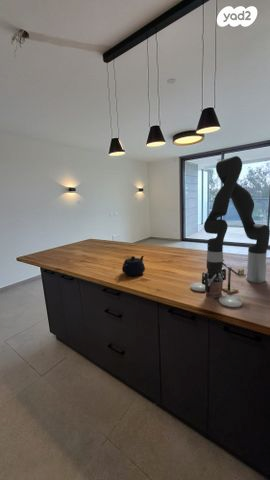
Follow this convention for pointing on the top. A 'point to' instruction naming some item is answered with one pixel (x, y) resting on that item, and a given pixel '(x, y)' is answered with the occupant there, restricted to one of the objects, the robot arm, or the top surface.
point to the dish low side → (230, 301)
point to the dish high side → (198, 286)
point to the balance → (228, 288)
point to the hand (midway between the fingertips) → (213, 290)
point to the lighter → (215, 288)
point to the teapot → (133, 266)
